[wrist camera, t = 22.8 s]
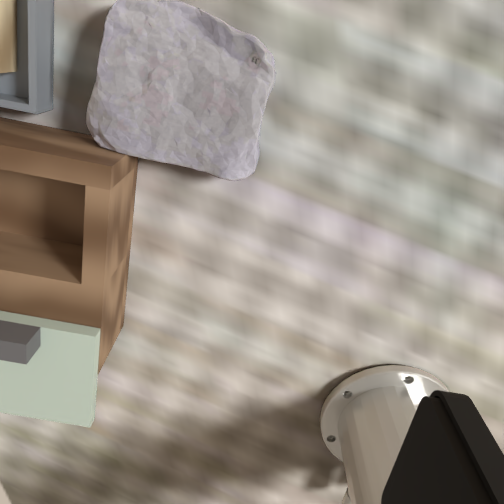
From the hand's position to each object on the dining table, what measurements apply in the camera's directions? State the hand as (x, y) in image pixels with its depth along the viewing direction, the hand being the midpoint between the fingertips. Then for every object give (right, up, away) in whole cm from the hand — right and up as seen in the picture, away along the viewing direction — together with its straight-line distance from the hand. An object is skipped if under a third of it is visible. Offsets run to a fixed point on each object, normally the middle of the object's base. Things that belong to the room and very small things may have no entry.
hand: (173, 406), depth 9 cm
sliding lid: (-17, -5, +24) cm, 30 cm away
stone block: (-3, +15, +23) cm, 27 cm away
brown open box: (-16, +5, +27) cm, 32 cm away
